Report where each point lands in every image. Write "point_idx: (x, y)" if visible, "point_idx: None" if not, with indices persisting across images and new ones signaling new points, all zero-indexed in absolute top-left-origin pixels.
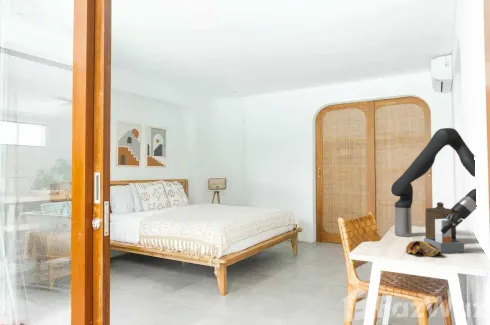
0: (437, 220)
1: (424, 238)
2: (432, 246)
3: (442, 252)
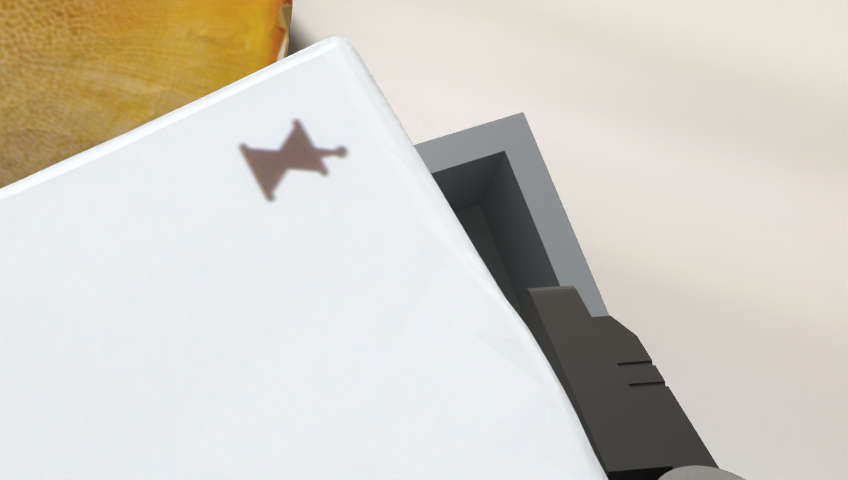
0: (156, 133)
1: (497, 122)
2: None
3: None
